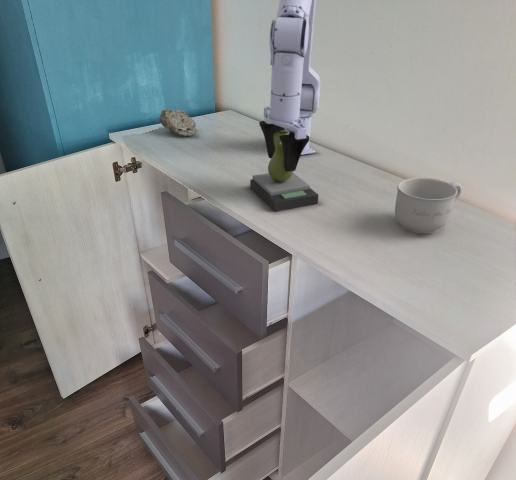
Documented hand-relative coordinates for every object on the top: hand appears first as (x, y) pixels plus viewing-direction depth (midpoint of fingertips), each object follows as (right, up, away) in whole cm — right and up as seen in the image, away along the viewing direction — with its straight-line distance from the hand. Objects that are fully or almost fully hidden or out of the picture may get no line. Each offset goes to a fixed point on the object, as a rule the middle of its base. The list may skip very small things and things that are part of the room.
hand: (281, 163), depth 104 cm
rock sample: (-25, +19, +31) cm, 45 cm away
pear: (0, -3, +2) cm, 4 cm away
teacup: (+28, -14, -5) cm, 32 cm away
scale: (0, -6, +3) cm, 6 cm away
